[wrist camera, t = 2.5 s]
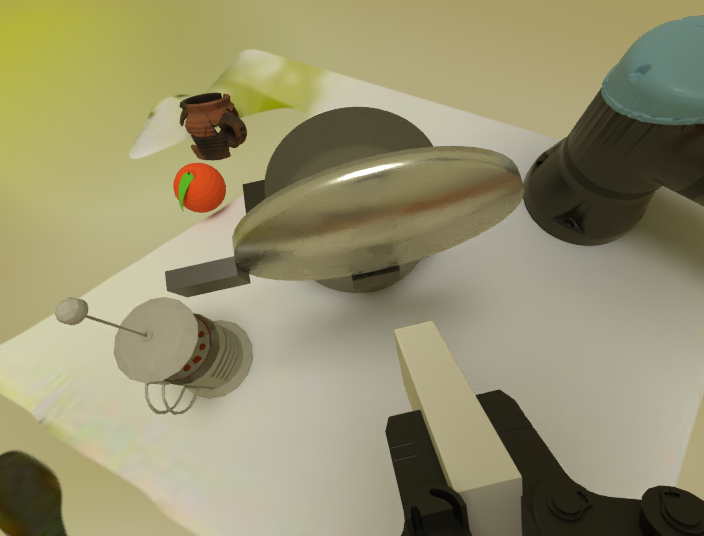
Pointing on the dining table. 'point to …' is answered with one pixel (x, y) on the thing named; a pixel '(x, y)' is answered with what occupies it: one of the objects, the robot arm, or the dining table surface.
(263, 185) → the pressure cooker pot
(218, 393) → the french press
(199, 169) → the clementine
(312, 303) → the dining table surface
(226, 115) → the pottery mug
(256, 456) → the dining table surface
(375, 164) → the cooker lid
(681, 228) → the dining table surface
